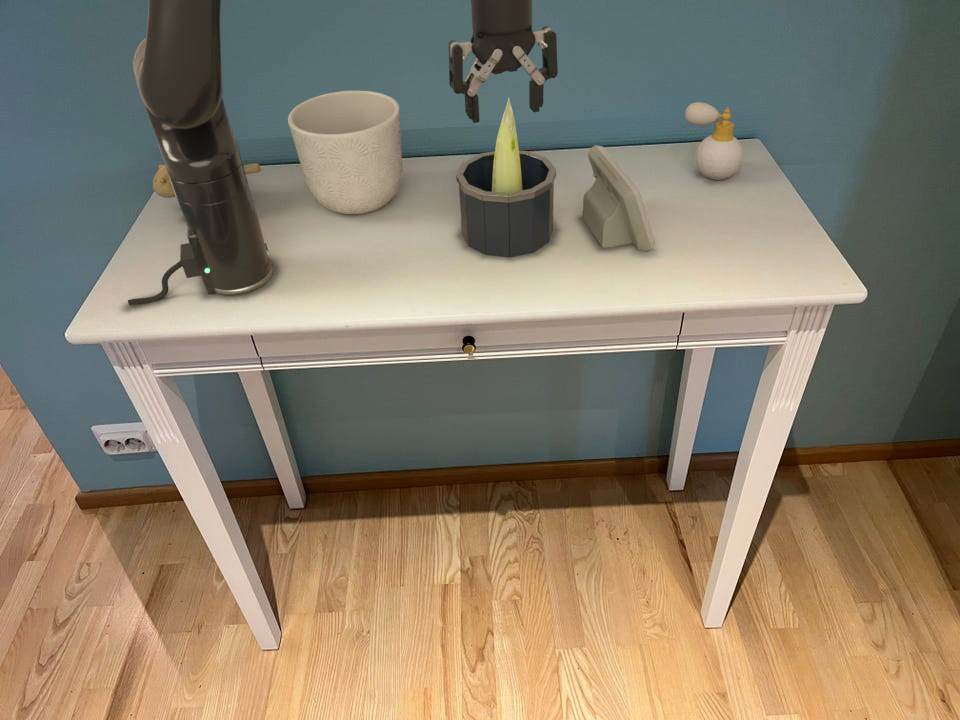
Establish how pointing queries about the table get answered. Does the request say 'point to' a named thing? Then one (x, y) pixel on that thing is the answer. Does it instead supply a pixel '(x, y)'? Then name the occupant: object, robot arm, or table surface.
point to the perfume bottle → (715, 142)
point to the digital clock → (615, 205)
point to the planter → (349, 149)
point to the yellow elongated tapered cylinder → (507, 156)
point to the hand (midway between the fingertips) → (504, 115)
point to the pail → (506, 206)
